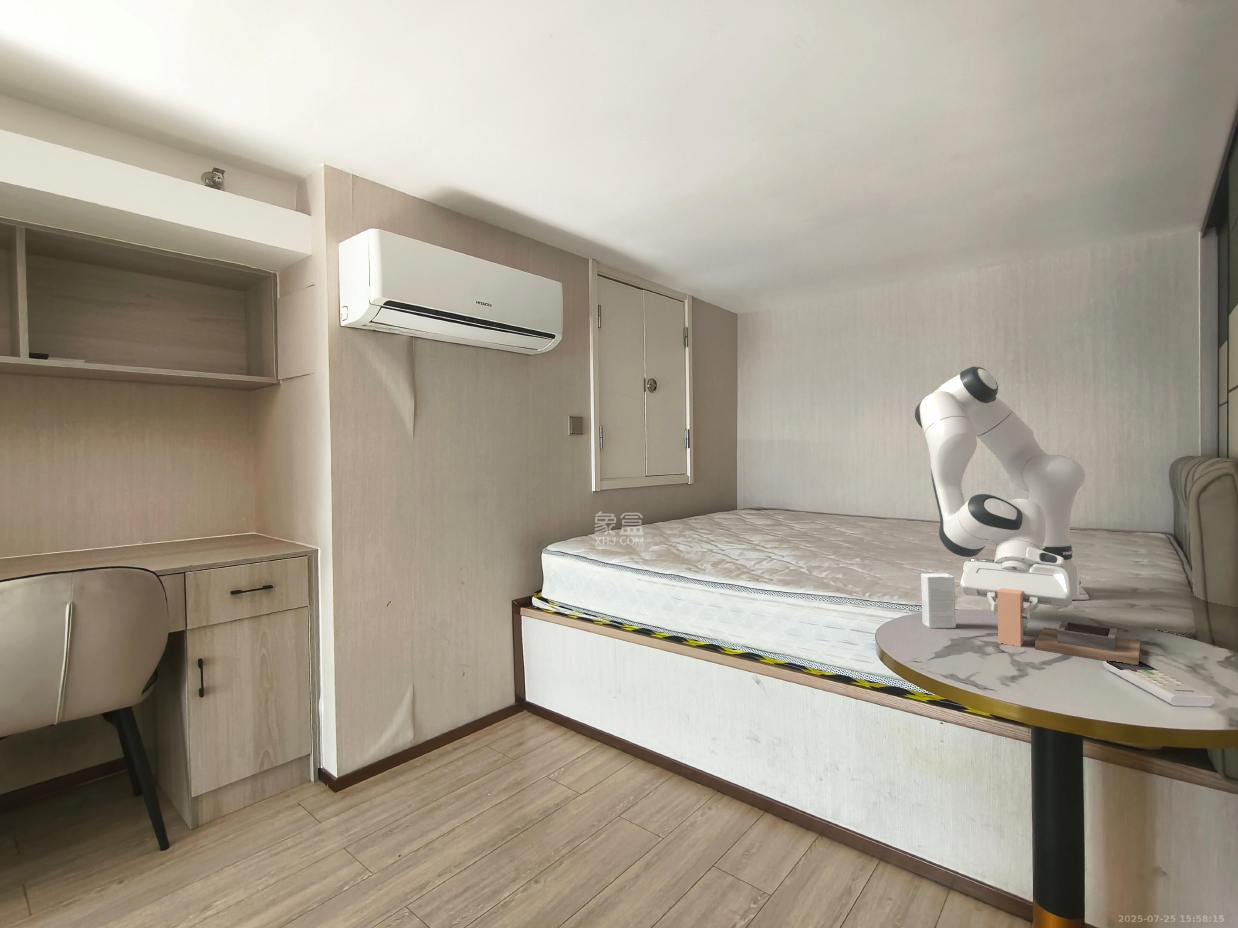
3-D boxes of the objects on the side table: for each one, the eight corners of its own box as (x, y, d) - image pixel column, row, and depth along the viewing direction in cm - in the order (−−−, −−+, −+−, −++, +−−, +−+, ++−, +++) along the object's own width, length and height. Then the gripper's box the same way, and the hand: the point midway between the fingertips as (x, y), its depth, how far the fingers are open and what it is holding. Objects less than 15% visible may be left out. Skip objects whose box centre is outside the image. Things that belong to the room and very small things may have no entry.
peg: (1001, 638, 130) (1001, 587, 130) (1023, 641, 128) (1023, 590, 127) (998, 642, 127) (997, 591, 127) (1020, 646, 125) (1020, 593, 124)
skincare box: (947, 623, 142) (947, 572, 142) (956, 628, 138) (955, 576, 138) (921, 623, 143) (920, 572, 143) (928, 628, 139) (927, 576, 138)
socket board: (1044, 633, 133) (1043, 615, 132) (1139, 648, 122) (1139, 628, 122) (1035, 648, 123) (1034, 629, 123) (1138, 666, 112) (1138, 645, 112)
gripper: (962, 549, 139) (952, 599, 132) (1072, 558, 125) (1068, 614, 118) (967, 565, 143) (957, 615, 135) (1075, 576, 129) (1070, 632, 122)
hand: (1010, 615), depth 127 cm, fingers closed on peg, 4 cm apart
